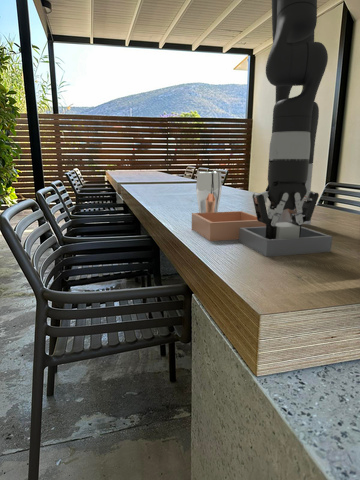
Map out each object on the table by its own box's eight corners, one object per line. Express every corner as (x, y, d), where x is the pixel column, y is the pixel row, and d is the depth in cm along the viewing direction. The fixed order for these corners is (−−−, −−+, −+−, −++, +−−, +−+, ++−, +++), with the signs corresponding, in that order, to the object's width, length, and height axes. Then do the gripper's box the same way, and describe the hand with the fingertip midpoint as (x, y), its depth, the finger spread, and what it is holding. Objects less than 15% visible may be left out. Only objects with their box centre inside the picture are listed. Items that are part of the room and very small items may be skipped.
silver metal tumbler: (219, 228, 91) (220, 172, 87) (194, 227, 92) (194, 172, 89) (221, 224, 98) (222, 171, 94) (197, 223, 99) (198, 171, 95)
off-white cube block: (285, 242, 72) (287, 222, 71) (298, 248, 67) (300, 226, 66) (266, 244, 71) (268, 223, 70) (278, 249, 66) (279, 227, 65)
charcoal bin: (294, 241, 77) (296, 224, 76) (330, 256, 65) (332, 236, 64) (238, 245, 73) (239, 227, 72) (265, 261, 62) (267, 240, 61)
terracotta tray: (241, 229, 90) (241, 211, 89) (266, 241, 77) (268, 220, 76) (191, 232, 87) (191, 213, 86) (209, 245, 74) (210, 222, 72)
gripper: (308, 157, 70) (301, 236, 74) (246, 157, 67) (242, 240, 71) (333, 157, 63) (324, 244, 67) (265, 157, 59) (259, 249, 64)
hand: (282, 242), depth 69 cm, fingers closed on off-white cube block, 4 cm apart
